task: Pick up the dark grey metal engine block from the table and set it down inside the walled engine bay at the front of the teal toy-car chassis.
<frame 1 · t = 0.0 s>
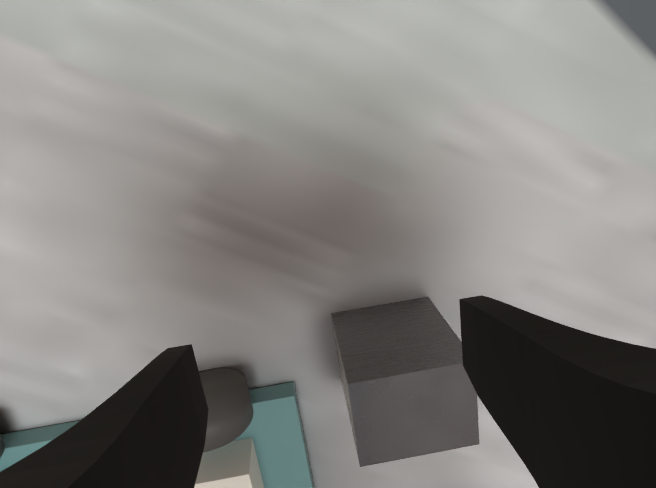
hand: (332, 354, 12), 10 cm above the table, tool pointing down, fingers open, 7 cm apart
engine block: (383, 339, 24), on the table
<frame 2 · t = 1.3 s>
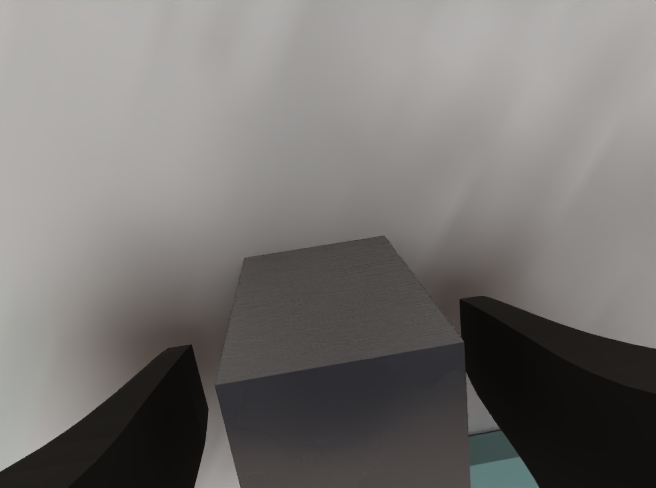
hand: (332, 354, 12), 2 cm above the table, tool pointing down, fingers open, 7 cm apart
engine block: (326, 324, 14), on the table
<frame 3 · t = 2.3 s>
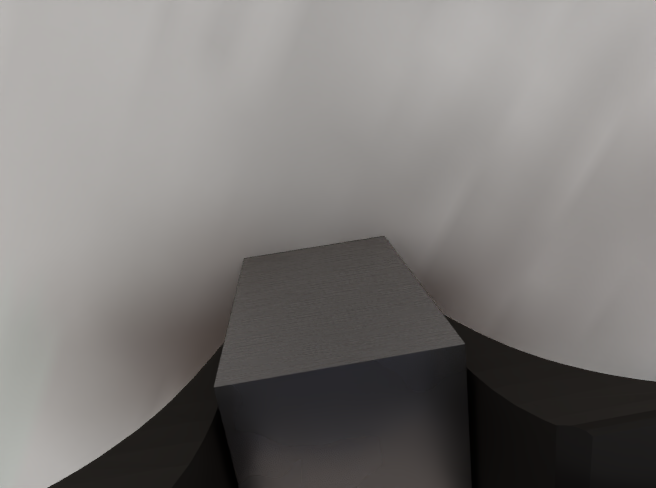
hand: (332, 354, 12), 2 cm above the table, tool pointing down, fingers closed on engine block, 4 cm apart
engine block: (326, 325, 14), on the table, touching gripper
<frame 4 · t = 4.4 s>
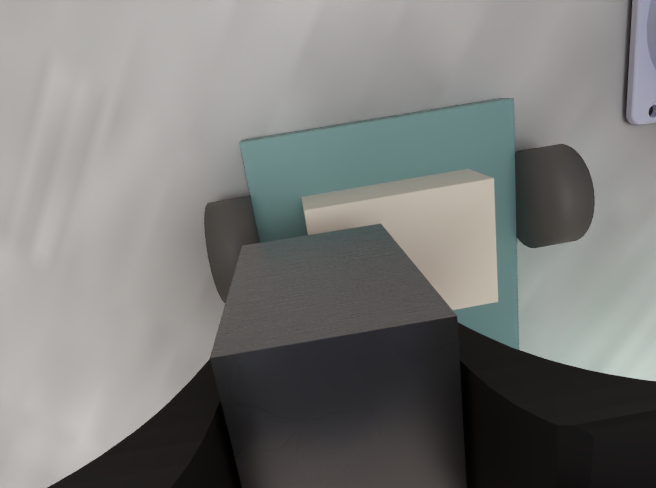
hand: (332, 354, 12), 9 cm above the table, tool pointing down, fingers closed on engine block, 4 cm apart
engine block: (324, 313, 14), point 7 cm above the table, touching gripper
chassis: (396, 329, 22), on the table
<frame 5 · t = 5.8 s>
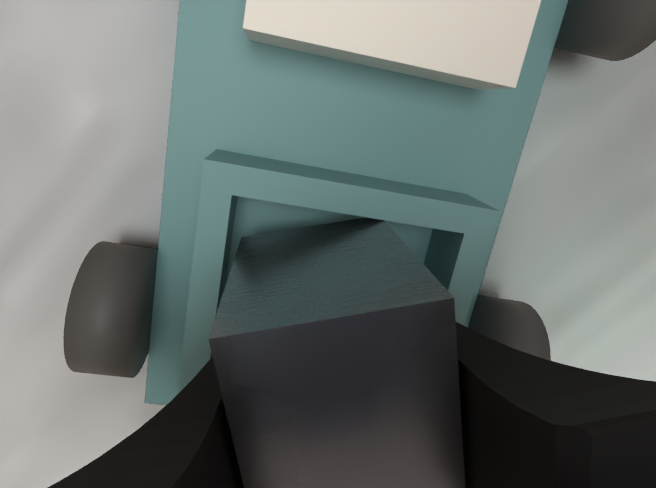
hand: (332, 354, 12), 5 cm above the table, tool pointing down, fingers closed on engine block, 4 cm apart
engine block: (323, 305, 14), point 3 cm above the table, touching gripper
chassis: (345, 146, 15), on the table
when the fingers open (4 cm above the table, at t = 6.7 s): engine block drops 1 cm, resting on chassis.
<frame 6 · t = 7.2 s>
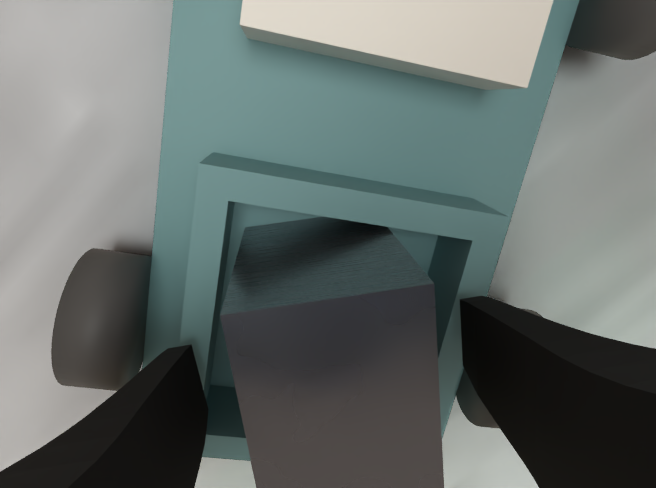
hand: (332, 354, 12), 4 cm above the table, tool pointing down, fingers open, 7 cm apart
engine block: (319, 292, 15), point 1 cm above the table, touching chassis
chassis: (347, 148, 15), on the table
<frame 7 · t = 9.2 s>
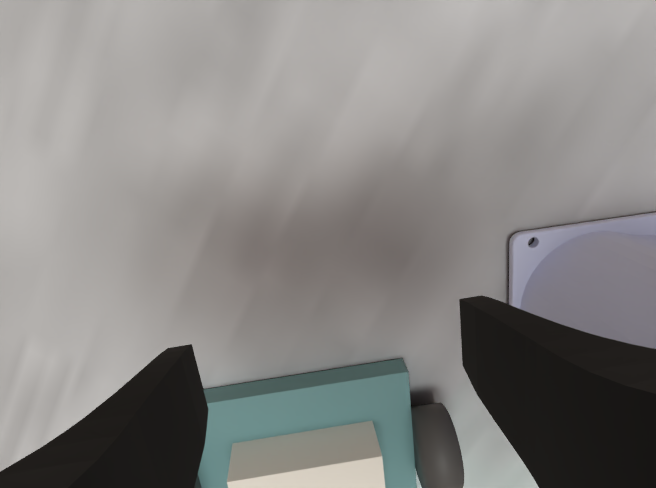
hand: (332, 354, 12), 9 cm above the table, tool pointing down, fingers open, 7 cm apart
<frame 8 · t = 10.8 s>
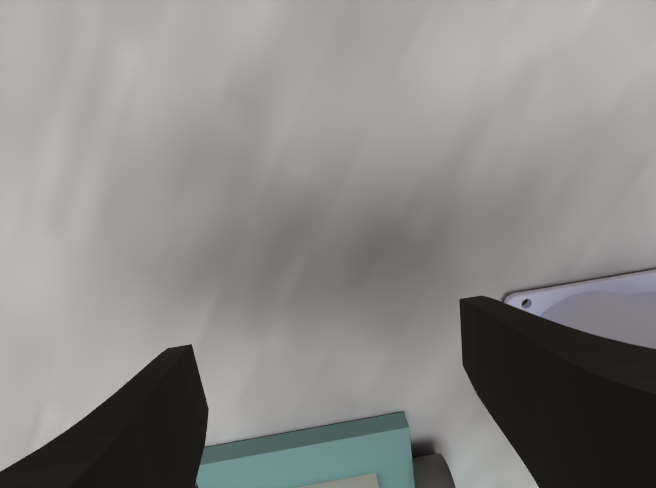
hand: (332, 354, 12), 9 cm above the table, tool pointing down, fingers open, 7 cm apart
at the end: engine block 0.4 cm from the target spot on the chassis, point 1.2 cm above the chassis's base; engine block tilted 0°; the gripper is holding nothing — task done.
